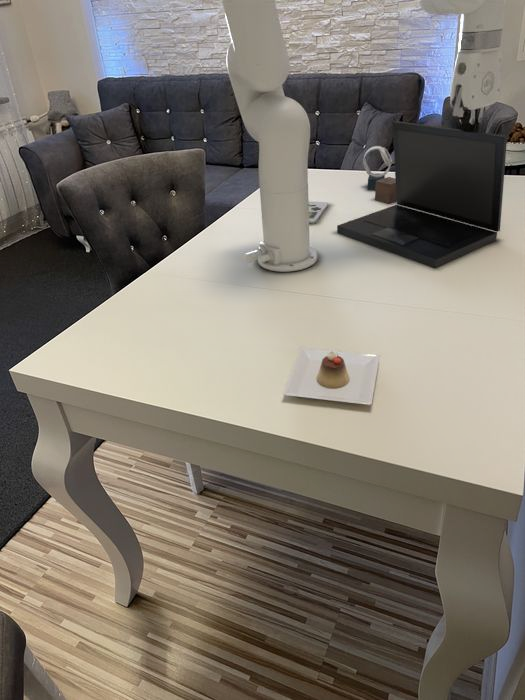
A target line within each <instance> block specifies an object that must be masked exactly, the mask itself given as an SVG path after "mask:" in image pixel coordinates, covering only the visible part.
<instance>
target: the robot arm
mask: <svg viewBox="0 0 525 700" xmlns="http://www.w3.org/2000/svg"><path fill="white" fill-rule="evenodd" d="M417 1H418V4H419V6H420V8H421V9H422V10H423V11H424V12H426V13H427V14H429V15H434V16H450V15H451V16H452V15H453V16H454V15H455V16H456V15H460V26H459V36H458V37H459V38H458V47H457V54H456V58H455V64H454V68H453V73H452V80H451V87H450V98H449V99H450V101H449V102H450V103H449V104H450V107H451V108H452V109H453V110H452V117H456V118H459V123H460V130H467V131H475V132H480V124H481V122H482V120H483V116H484V113H485V111H487V110H488V109H490V108H491V106H492V105H494V104H496V103H497V101H498V100H499V97H500V90H501V81H502V68H503V67H502V66H503V65H502V63H503V57H502V47H501V45H502V37H503V31H504V30H503V29H504V23H505V22H504V21H505V14H506V7H507V0H417ZM221 3H222V4H221V5H222V8H223V12H224V15H225V20H226V23H227V28H228V32H229V36H230V39H231V41H230V43H229V45H228V47H227V51H226V69H227V74H228V77H229V81H230V84H231V88H232V91H233V93H234V97H235V100H236V105H237V107H238V110H239V113H240V116H241V119H242V123H243V125H244V127H245V129H246V131H247V133H248V134H249V136H250V137H251V138H252V139H253V140H255V141H256V142H258V149H259V150H258V154H259V155H258V185H259V195H260V211H261V223H262V224H261V225H262V235H263V236H262V237H263V241H260V242H259V247H257V248H256V250H254V251H253V250H252V251H250V252H247V253H244V260H245V261H246V263H248V264H250V263H253V262H255V261H257V263H258V265H259V266H260V267H262V268H263V269H266V270H269V271H271V272H280V273H281V272H282V273H284V272H285V273H288V272H297V271H302V270H304V269H307V268H309V267H311V266H313V265H314V264H316V262H317V260H318V252H317V250H315V249H314V248H313V247H311V245H310V243H311V241H310V223H309V202H310V201H309V176H308V175H309V174H308V171H309V170H308V169H309V168H308V167H309V166H308V165H309V151H310V141H311V123H310V119H309V116H308V113H307V111H306V110H305V108H304V107H303V106H302V105H301V104H300V103H299V102H298V101H297V100H295V99H293V98H291V97H288V96H285V92H284V88H283V84H284V83H285V82H286V80H287V78H288V76H289V73H290V66H291V64H290V55H289V52H288V48H287V45H286V41H285V37H284V34H283V33H284V32H283V29H282V25H281V21H280V17H279V13H278V10H277V3H276V0H221ZM308 201H309V202H308Z"/></svg>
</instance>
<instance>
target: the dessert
mask: <svg viewBox="0 0 525 700" xmlns="http://www.w3.org/2000/svg"><path fill="white" fill-rule="evenodd" d="M380 357H381V354H378V353H367V352H355V351H346V350H345V351H344V350H332V349H322V348H312V347H311V348H310V347H299V351H298V353H297V355H296V358H295V360H294V363H293V365H292V368H291V370H290V373H289V376H288V378H287V381H286V383H285V385H284V388H283V391H282V393H281V394H282V395H283V396H289V397H290V396H291V397H298V398H307V399H315V400H325V401H332V402H333V401H334V402H342V403H349V404H350V403H351V404H359V405H368V406H372V404H373V403H372V402H373V397H374V391H375V385H376V381H377V380H376V379H377V374H378V370H379V369H378V368H379V364H380V363H379V362H380Z"/></svg>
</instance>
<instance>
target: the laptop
mask: <svg viewBox="0 0 525 700" xmlns="http://www.w3.org/2000/svg"><path fill="white" fill-rule="evenodd" d="M336 234H339V235H342V236H345V237H348V238H351V239H354V240H356V241H359V242H362V243H365V244H367V245H370V246H373V247H375V248H378V249H381V250H384V251H386V252H389V253H392V254H395V255H398V256H400V257H403V258H406V259H408V260H411V261H415V262H418V263H419V264H423V265H425V266H428V267H431V268H434V269H437V268H438V267H441V266H443V265H445V264H447V263H450V262H451V261H454V260H456V259H459V258H460V257H462V256H465V255H467V254H469V253H471V252H473V251H476V250H479V249H481V248H483V247H485V246H487V245H489V244H491V243H493V242H496V241H497V238H498V232H496V231H493V230H489V229H485V228H482V227H478V226H474V225H471V224H467V223H463V222H460V221H456V220H452V219H449V218H445V217H441V216H438V215H434V214H430V213H427V212H423V211H419V210H416V209H412V208H408V207H405V206H401V205H397V204H394V205H392V206H388V207H386V208H383V209H379V210H377V211H374V212H372V213H368V214H366V215H363V216H360V217H358V218H354V219H352V220H349V221H346V222H343V223H340V224H337V226H336Z"/></svg>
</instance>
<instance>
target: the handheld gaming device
mask: <svg viewBox="0 0 525 700" xmlns="http://www.w3.org/2000/svg"><path fill="white" fill-rule="evenodd" d="M308 202H309V224H311V225H312V224H313V225H314V224H316V223H317V222H318V221H319V219H320V218H321V217H322V215H323V214H324V212H325V211H326V209H327V208H328V207H329V202H328V201H309V200H308Z"/></svg>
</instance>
